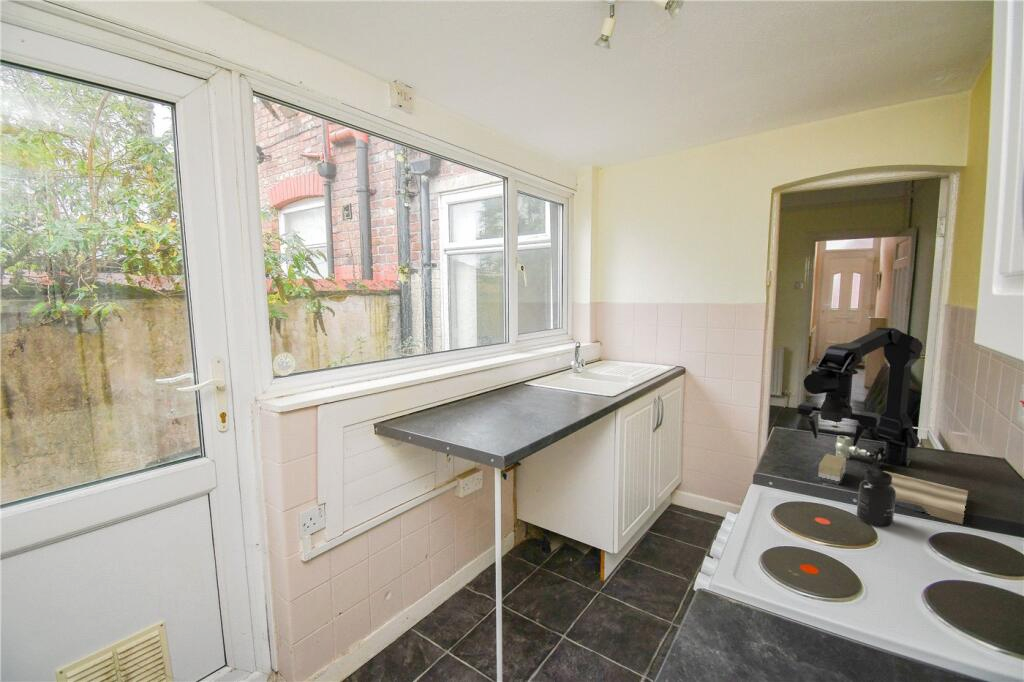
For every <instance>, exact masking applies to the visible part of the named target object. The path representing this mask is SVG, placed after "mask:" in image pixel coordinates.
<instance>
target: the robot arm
mask: <svg viewBox="0 0 1024 682" xmlns="http://www.w3.org/2000/svg"><path fill="white" fill-rule="evenodd" d="M923 346H924V345H923V343H922V341H920V339H919V338H918V337H914V336H912V335H909V334H907V333H904V332H902V331H900V329H897V328H895V327H887V326H879V327H876V328H875V329H874V330H873V331H871V332H869V333H867V334H865V335H862V336H861V337H859V338H856V339H855V340H852V341H850V342H847V343H846V342H845V343H837V344H833V345H829V346H828V347H827V348H826V349H825V351H824V353H823V355H822V356H821V357H820V360H819V361H818V363H817V365H816V366H815V369H811V373H810V374H808V375H806V376H805V378H804V380H803V387H804V389H805V390H806V391H807V392H808V393H809V394H812V395H819V394H825V396H824V397H825V399H823V402H822V405H821V407H820V406H819V405H818V404H819V403H816V402H812V401H811V402H810V401H805V400H804V401H803V402H800V404H798V405H797V408H796V414H798V415H801V417H802V418H805V419H806V420H807V422H808V423H809V425H810V428H811V430H812V434H813V437H814V439H818V437H819V415H820V420H823V421H831V422H833V423H841V422H842V421H843V419H847V420H848V419H849V420H851V421H857V425H856V427H855V428H856V429H855V433H854V437H853V443H852V446H853V447H855V446H857V444H858V442H859V440H860V439H861V437H862V435H863V434H864V432H865V430H871V429H872V428H873V429H875V433H876V434H875V435H876V439H877V440H880V441H883V442H884V447H883V448H885V450H884V452H883V453H885V457H883V461H884V462H883V463H886V464H891V465H894V466H898V467H899V466H900V467H904V468H908V467H909V465H910V463H911V459H909V451H910V449H917V447H918V446H919V444H920V438H919V436H918V435H917V434H916V432H915V431H914V424H913V423H914V422H913V420H912V419H911V418H910V416H909V414H908V413H907V412H908V411H907V410H908V404H909V403H908V402H909V392H910V383H911V382H910V381H911V373H912V366H913V365H914V364H915V363H916V362H918V361H919V359H920V356H921V353H922V351H923V348H924V347H923ZM880 348H882V349H883V357H884V358H885V360H886V362H887V364H888V365H889V369H888V379H887V388H886V389H887V390H886V400H885V409H884V411H883V412H882V413H881V414H879V413H877V412H871V411H865V410H862V411H861V412H860V413H854V412H853V407H852V406H851V402H852V401H851V400H852V389H853V387H852V386H853V376H854V375H857V374H859V372H858V370H857V369H855V367H857V366H858V365H859V364H861V363H862V362H863V358H864V356H867V355H868V354H870V353H872V352H874V351H876V350H878V349H880Z"/></svg>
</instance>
